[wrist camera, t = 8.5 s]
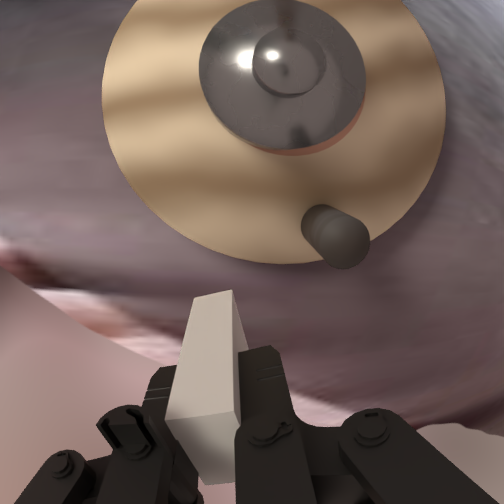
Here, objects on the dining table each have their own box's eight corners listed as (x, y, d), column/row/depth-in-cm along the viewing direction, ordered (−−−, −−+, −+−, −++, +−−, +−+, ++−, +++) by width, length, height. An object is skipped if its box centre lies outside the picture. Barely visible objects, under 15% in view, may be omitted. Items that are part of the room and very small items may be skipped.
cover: (189, 31, 17) (180, 3, 13) (328, 12, 17) (348, -15, 13) (221, 165, 20) (219, 166, 16) (362, 137, 20) (393, 133, 16)
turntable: (95, -3, 17) (61, -40, 10) (382, -42, 17) (415, -77, 10) (158, 289, 25) (136, 333, 18) (450, 218, 25) (502, 236, 18)
